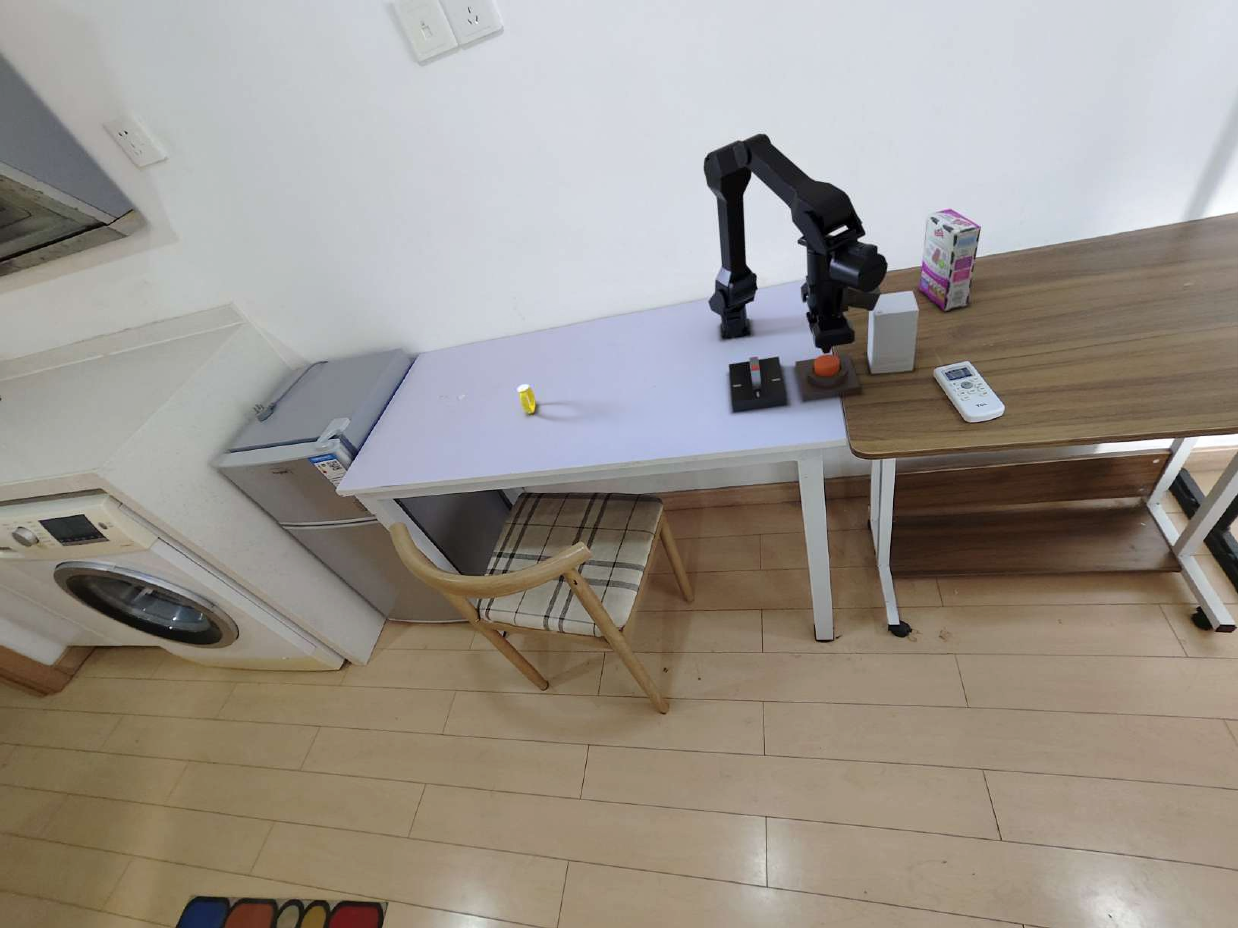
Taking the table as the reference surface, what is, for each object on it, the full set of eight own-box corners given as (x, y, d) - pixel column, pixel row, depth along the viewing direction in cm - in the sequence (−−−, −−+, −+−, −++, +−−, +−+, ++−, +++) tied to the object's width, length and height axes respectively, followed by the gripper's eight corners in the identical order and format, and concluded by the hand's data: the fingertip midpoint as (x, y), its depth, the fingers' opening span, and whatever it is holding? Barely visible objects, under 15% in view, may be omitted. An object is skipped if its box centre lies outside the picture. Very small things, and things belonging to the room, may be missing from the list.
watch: (536, 416, 127) (527, 394, 123) (524, 418, 127) (515, 397, 124) (539, 400, 131) (530, 379, 128) (528, 402, 132) (518, 381, 128)
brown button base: (795, 368, 116) (794, 353, 114) (848, 360, 114) (848, 345, 112) (803, 401, 108) (802, 386, 106) (859, 393, 106) (860, 378, 104)
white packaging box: (913, 371, 107) (919, 310, 99) (870, 374, 109) (872, 315, 101) (908, 349, 112) (913, 289, 104) (866, 352, 114) (869, 294, 106)
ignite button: (812, 365, 111) (812, 356, 109) (837, 361, 110) (837, 352, 108) (816, 378, 107) (816, 369, 106) (841, 375, 106) (841, 366, 105)
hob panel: (730, 374, 120) (728, 363, 119) (779, 366, 118) (778, 355, 116) (733, 412, 111) (731, 402, 109) (786, 405, 109) (786, 394, 107)
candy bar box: (969, 306, 117) (983, 226, 106) (944, 312, 117) (955, 233, 107) (941, 283, 125) (951, 206, 115) (918, 289, 126) (925, 214, 115)
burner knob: (751, 376, 114) (749, 356, 111) (759, 375, 113) (757, 355, 110) (753, 390, 110) (750, 370, 107) (761, 389, 110) (759, 369, 107)
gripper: (891, 290, 87) (885, 375, 97) (865, 240, 101) (862, 319, 111) (814, 304, 90) (816, 385, 100) (798, 253, 103) (802, 329, 113)
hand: (826, 352), depth 106 cm, fingers closed
